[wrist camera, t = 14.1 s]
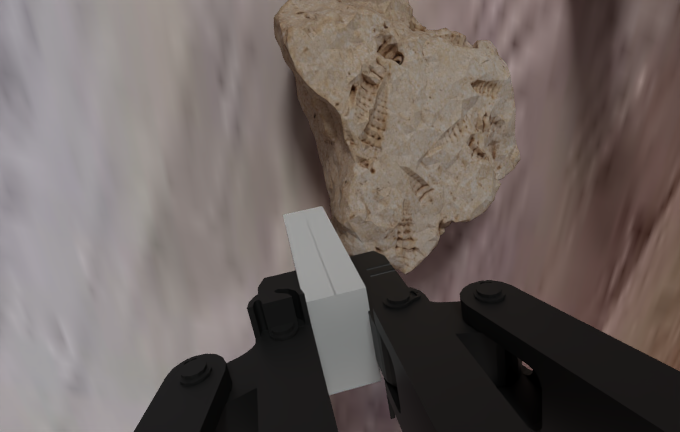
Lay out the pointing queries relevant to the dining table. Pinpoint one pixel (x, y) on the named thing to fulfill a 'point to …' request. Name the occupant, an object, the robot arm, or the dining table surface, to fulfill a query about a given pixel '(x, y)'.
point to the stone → (398, 121)
